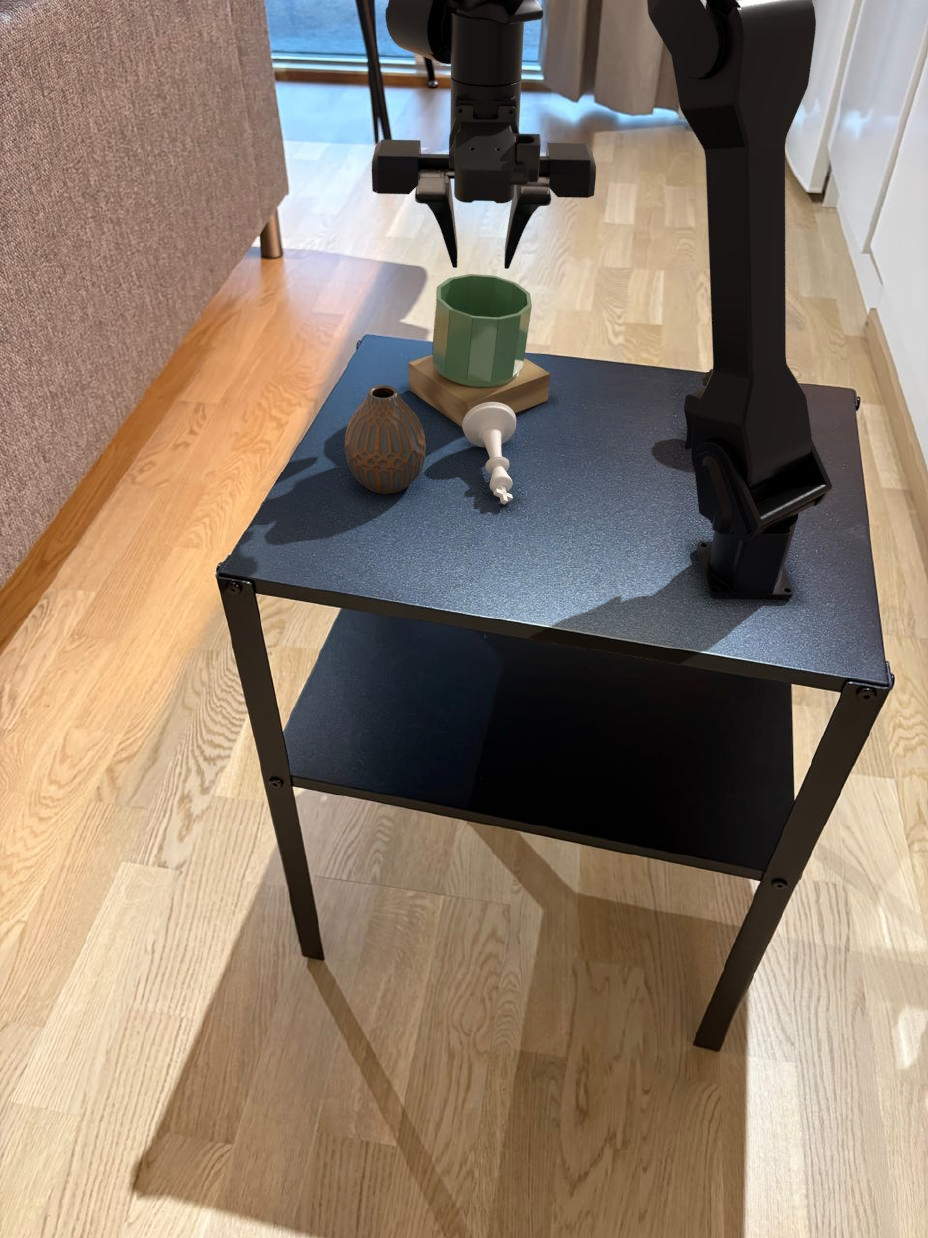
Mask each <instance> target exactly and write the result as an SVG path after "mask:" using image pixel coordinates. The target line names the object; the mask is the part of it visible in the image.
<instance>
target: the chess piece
mask: <svg viewBox="0 0 928 1238" xmlns="http://www.w3.org/2000/svg"><path fill="white" fill-rule="evenodd" d="M461 428H462V432H463V434H464V437H465V438H466V440H467V441H468V442H469V443H470V444H472V445H474V446H476V447H480V448H485V449H486V451H487V454H488V456H489V459H488V460H487V461H486V463H485V465H484V467H485V471H486V472H487V473H488V474H489V475H491V477H490V481H489V490H491V492H493V496H495V497H497V498H499V500H500V503H501V504H503V505H506V504H507V503H508V502H511V501H512V500H513V499H514V497H513V494H511V493H509V491H510V490H511V489H512V488H513V485H514V483H513V479H512V478H511V477H510V475H509V474H508V471H509V469H510V465H511V464H510V460H509V459H508V458H507V457H505V456H503V454H502V445H503V444H505V443H507V442H508V441H509V440H510V439H511V438H513V435H514V434H515V432H516V429H517V416H516V413H514V412H513V410H512V409H511V408H510V407H508V406H507V405H505V404H502V403H498V402H487V403H482V404H479V405H477V406H475V407H474V408H472V409H471V410H470V411H469V412H468V413H467V414H466V415H465V417H464V419H463V423H462V427H461Z"/></svg>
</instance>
